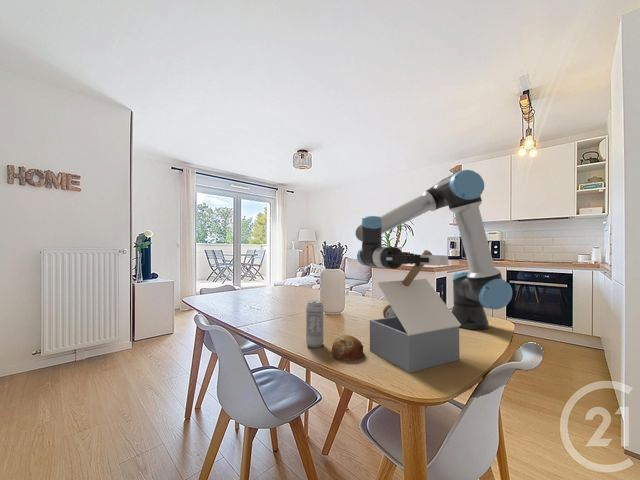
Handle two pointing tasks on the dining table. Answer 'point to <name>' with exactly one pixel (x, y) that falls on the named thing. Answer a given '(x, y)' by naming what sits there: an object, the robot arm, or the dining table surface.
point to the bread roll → (347, 348)
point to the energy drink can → (314, 323)
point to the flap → (418, 304)
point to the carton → (413, 345)
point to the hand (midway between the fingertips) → (443, 260)
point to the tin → (388, 312)
